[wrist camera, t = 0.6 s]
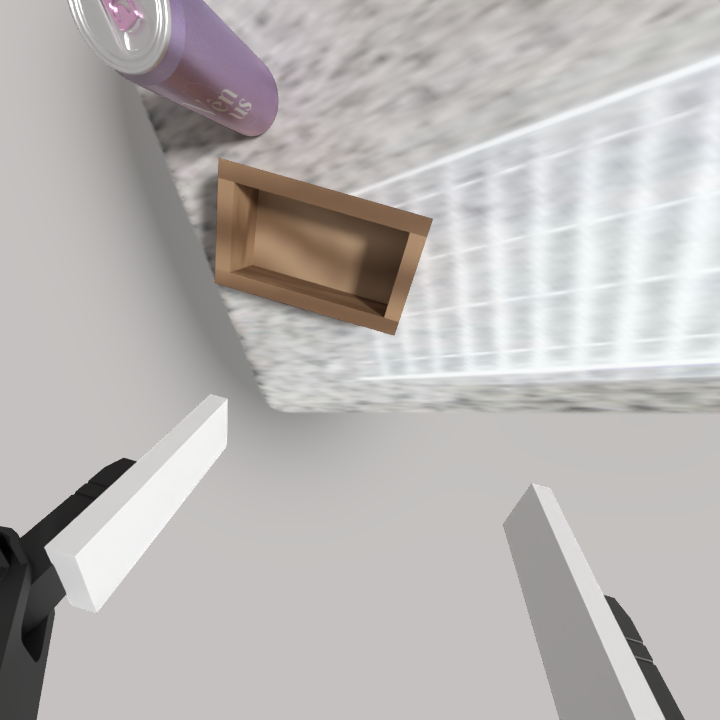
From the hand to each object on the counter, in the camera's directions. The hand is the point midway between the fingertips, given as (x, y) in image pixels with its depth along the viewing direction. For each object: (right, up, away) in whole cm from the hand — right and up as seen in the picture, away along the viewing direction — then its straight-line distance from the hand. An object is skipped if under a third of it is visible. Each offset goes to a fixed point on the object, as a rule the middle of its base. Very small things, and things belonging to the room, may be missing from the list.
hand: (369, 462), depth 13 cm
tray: (-4, +17, +21) cm, 27 cm away
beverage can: (-11, +29, +16) cm, 35 cm away
